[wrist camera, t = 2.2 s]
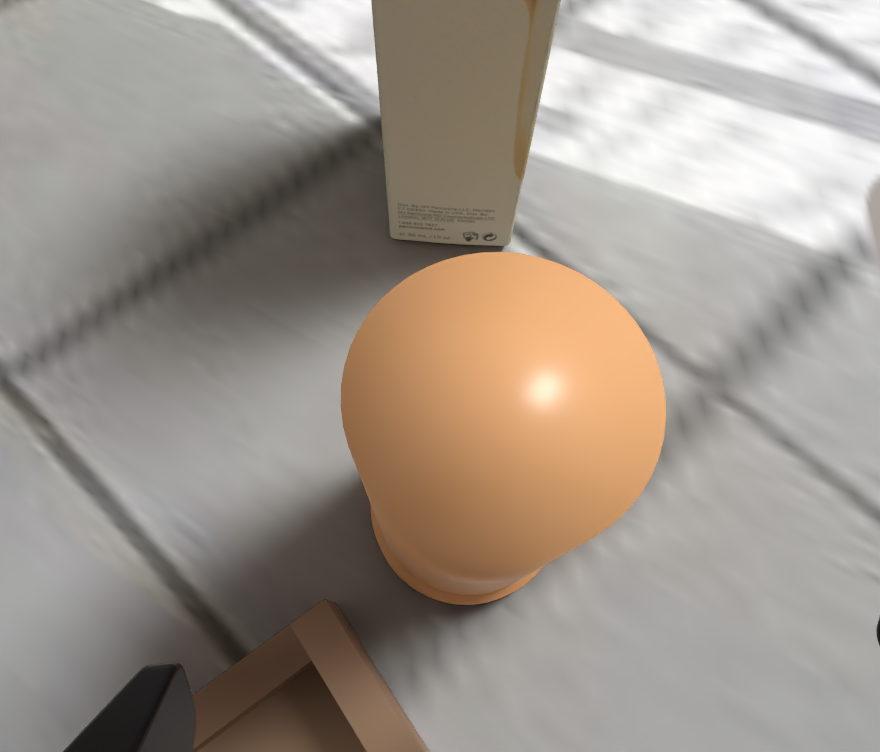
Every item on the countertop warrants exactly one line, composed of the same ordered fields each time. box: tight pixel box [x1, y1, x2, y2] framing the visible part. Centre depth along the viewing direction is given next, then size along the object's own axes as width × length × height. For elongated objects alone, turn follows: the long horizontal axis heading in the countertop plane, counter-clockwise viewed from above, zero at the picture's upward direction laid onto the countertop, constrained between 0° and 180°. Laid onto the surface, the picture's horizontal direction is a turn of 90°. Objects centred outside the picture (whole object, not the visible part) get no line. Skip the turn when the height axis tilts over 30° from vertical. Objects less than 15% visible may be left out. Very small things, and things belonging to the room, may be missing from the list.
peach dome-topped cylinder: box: [341, 252, 666, 605], centre depth 15 cm, size 5×5×10 cm
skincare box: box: [372, 0, 561, 246], centre depth 18 cm, size 6×4×12 cm
